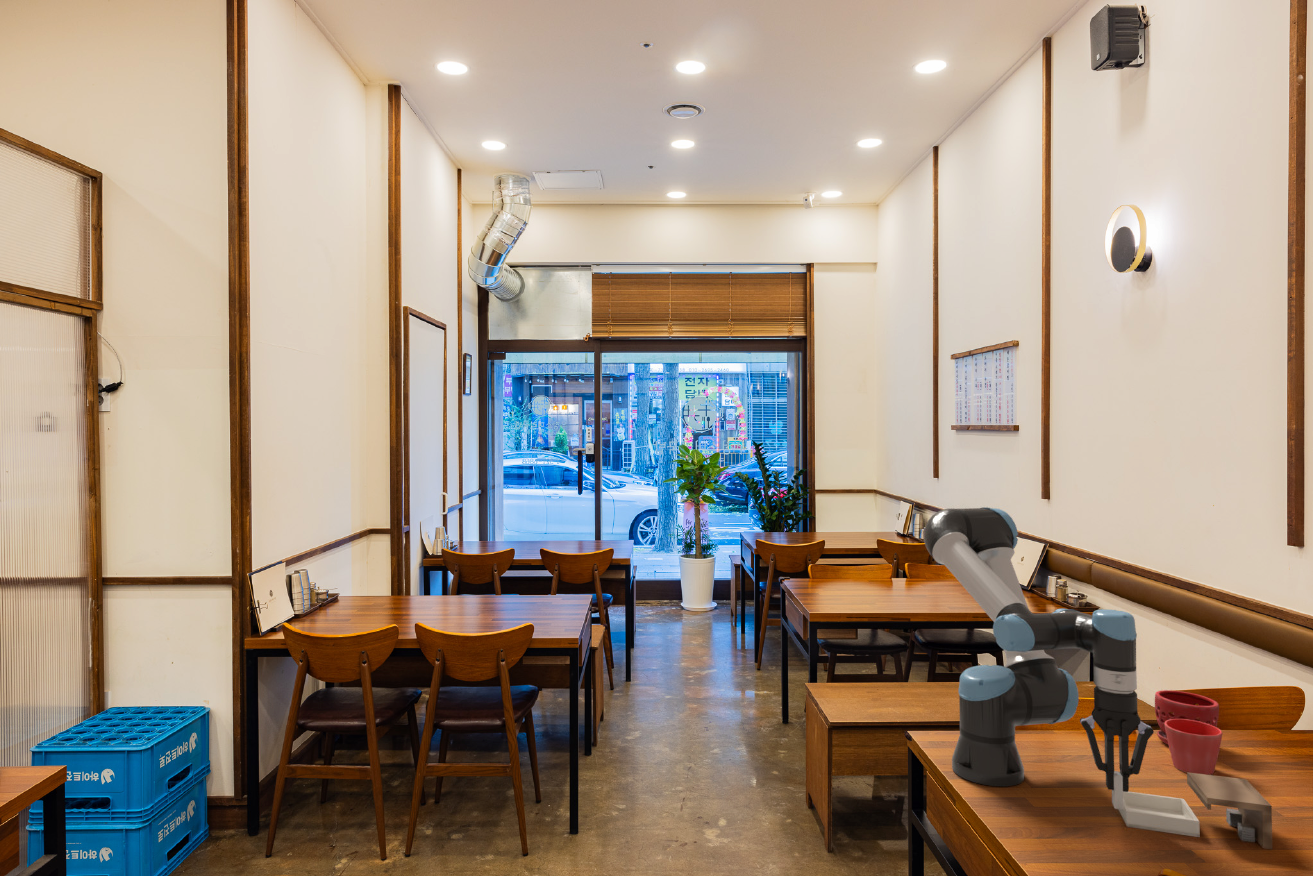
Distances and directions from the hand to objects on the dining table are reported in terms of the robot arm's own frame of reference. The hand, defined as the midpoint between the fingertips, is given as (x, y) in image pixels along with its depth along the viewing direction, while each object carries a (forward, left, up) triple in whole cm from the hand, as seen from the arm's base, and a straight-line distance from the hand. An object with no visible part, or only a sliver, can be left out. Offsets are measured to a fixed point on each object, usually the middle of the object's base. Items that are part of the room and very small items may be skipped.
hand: (1117, 806), depth 153 cm
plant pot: (+25, +47, -2) cm, 54 cm away
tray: (+7, 0, -2) cm, 7 cm away
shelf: (+19, 0, -2) cm, 19 cm away
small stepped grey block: (+21, 0, -2) cm, 21 cm away
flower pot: (+22, +31, -2) cm, 38 cm away
